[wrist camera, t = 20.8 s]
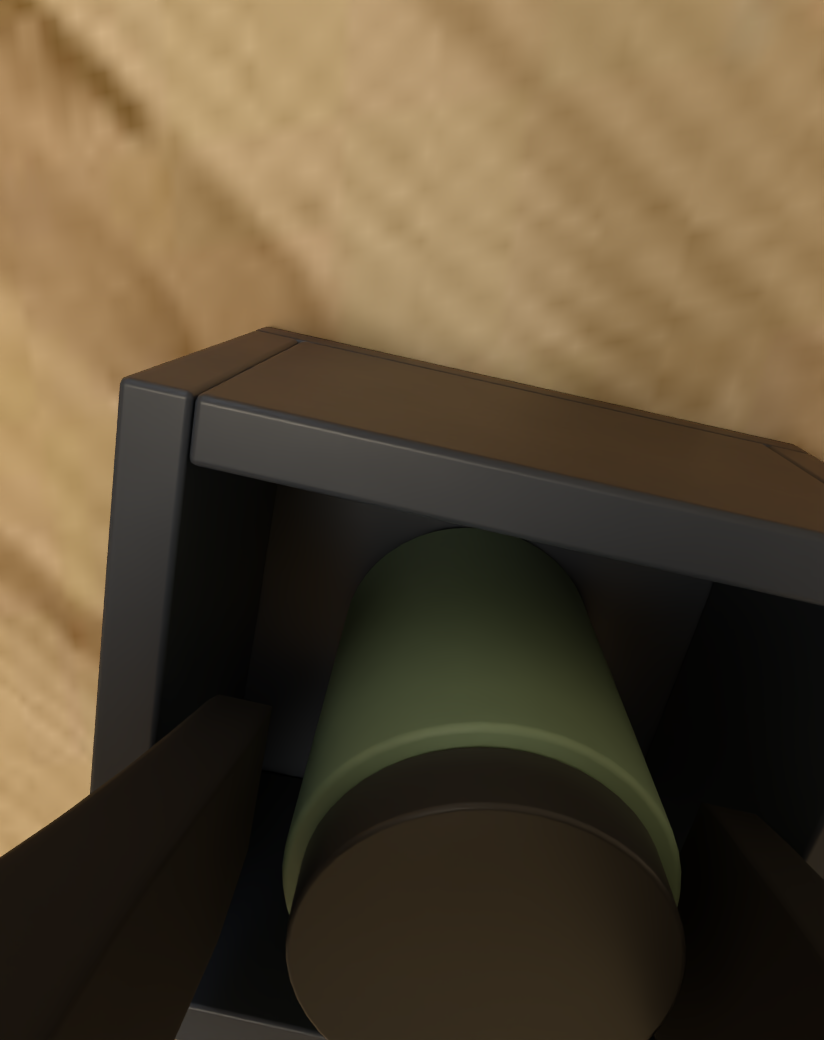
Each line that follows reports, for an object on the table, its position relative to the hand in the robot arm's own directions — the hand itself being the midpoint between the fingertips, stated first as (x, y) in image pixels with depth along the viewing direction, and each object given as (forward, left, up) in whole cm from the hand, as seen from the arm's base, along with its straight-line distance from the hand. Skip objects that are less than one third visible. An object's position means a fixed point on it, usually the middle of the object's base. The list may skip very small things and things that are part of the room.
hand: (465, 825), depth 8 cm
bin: (0, 0, -5) cm, 5 cm away
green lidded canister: (0, 0, -4) cm, 4 cm away
